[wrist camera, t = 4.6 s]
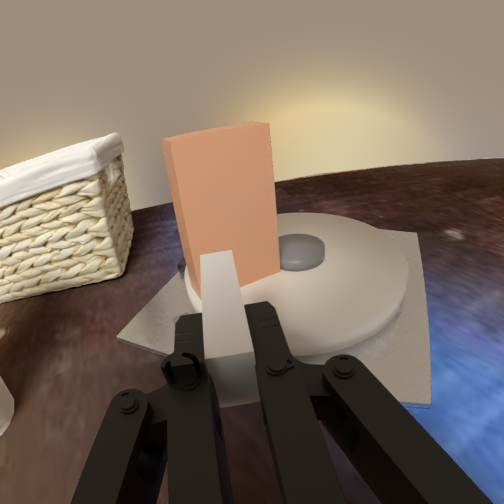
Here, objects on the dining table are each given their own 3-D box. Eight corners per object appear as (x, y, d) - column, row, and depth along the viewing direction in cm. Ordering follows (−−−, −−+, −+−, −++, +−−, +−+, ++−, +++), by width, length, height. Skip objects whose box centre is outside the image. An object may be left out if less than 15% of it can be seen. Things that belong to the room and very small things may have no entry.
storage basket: (-26, 314, 29) (-71, 210, 22) (15, 256, 43) (-12, 173, 36) (133, 284, 33) (95, 147, 26) (143, 225, 47) (123, 129, 40)
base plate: (416, 236, 35) (417, 226, 35) (428, 408, 16) (435, 395, 16) (232, 221, 44) (231, 211, 43) (118, 340, 25) (112, 328, 24)
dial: (314, 214, 41) (309, 105, 35) (445, 283, 26) (468, 128, 19) (164, 264, 34) (135, 134, 27) (255, 402, 18) (219, 164, 11)
